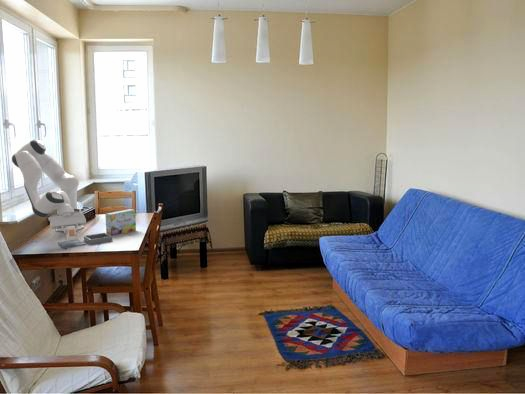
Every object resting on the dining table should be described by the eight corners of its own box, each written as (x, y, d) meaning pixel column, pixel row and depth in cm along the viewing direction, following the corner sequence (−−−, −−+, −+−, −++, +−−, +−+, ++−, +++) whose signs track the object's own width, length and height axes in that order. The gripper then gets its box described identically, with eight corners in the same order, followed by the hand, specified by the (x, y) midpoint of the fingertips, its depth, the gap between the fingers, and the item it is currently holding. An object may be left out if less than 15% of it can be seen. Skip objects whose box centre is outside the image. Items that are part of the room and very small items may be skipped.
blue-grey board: (58, 243, 280) (58, 242, 280) (78, 240, 287) (78, 239, 287) (64, 249, 267) (64, 247, 267) (85, 245, 274) (85, 244, 274)
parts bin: (84, 241, 285) (83, 235, 284) (105, 238, 293) (105, 232, 292) (90, 245, 274) (90, 239, 274) (112, 242, 282) (112, 236, 281)
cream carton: (66, 239, 276) (65, 226, 275) (74, 238, 278) (73, 225, 277) (68, 240, 272) (67, 227, 271) (76, 239, 275) (75, 226, 274)
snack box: (111, 237, 296) (110, 214, 294) (106, 236, 299) (104, 213, 297) (136, 230, 314) (135, 209, 311) (131, 229, 317) (129, 208, 314)
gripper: (48, 212, 272) (53, 231, 266) (83, 209, 284) (89, 226, 278) (47, 219, 277) (52, 237, 270) (81, 215, 289) (87, 232, 282)
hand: (71, 232), depth 274 cm, fingers closed on cream carton, 4 cm apart
